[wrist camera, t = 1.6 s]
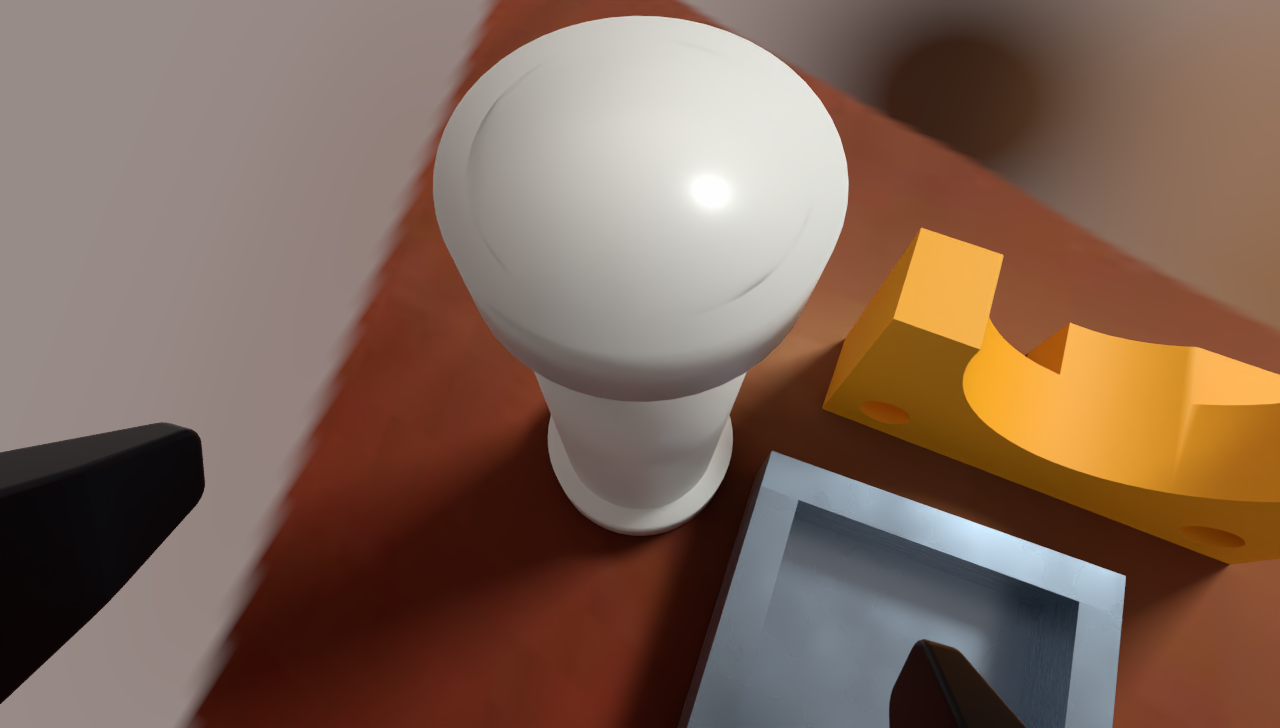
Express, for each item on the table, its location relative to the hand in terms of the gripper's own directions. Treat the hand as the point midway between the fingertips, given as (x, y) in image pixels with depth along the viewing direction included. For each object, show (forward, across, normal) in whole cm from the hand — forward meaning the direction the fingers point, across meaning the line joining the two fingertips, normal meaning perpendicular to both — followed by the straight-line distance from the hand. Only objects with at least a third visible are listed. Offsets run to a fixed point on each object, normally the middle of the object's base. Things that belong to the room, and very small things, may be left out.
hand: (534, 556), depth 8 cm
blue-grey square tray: (+8, -8, +8) cm, 14 cm away
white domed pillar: (+11, 0, +5) cm, 12 cm away
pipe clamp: (+14, -11, +2) cm, 18 cm away
